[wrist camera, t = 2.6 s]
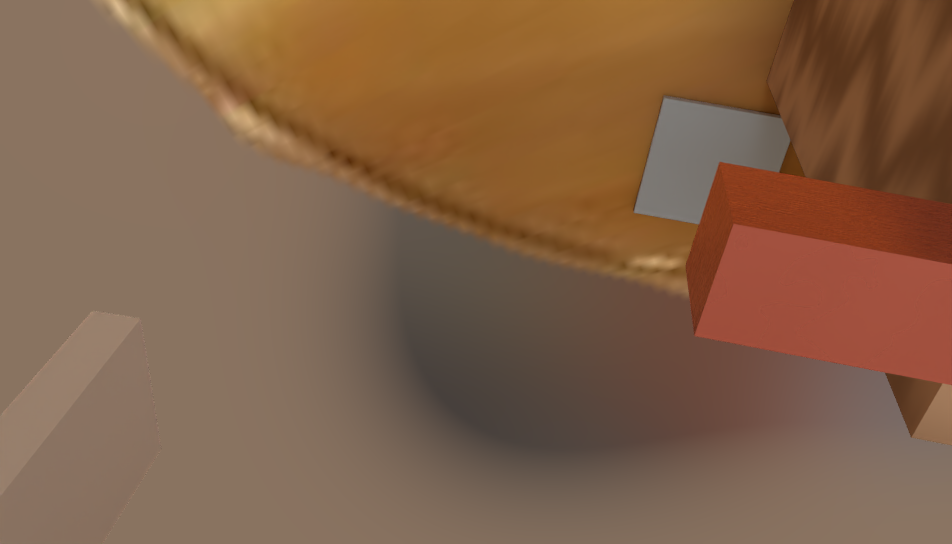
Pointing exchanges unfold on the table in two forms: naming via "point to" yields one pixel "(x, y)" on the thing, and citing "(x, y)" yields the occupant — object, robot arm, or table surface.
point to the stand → (874, 122)
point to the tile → (703, 154)
